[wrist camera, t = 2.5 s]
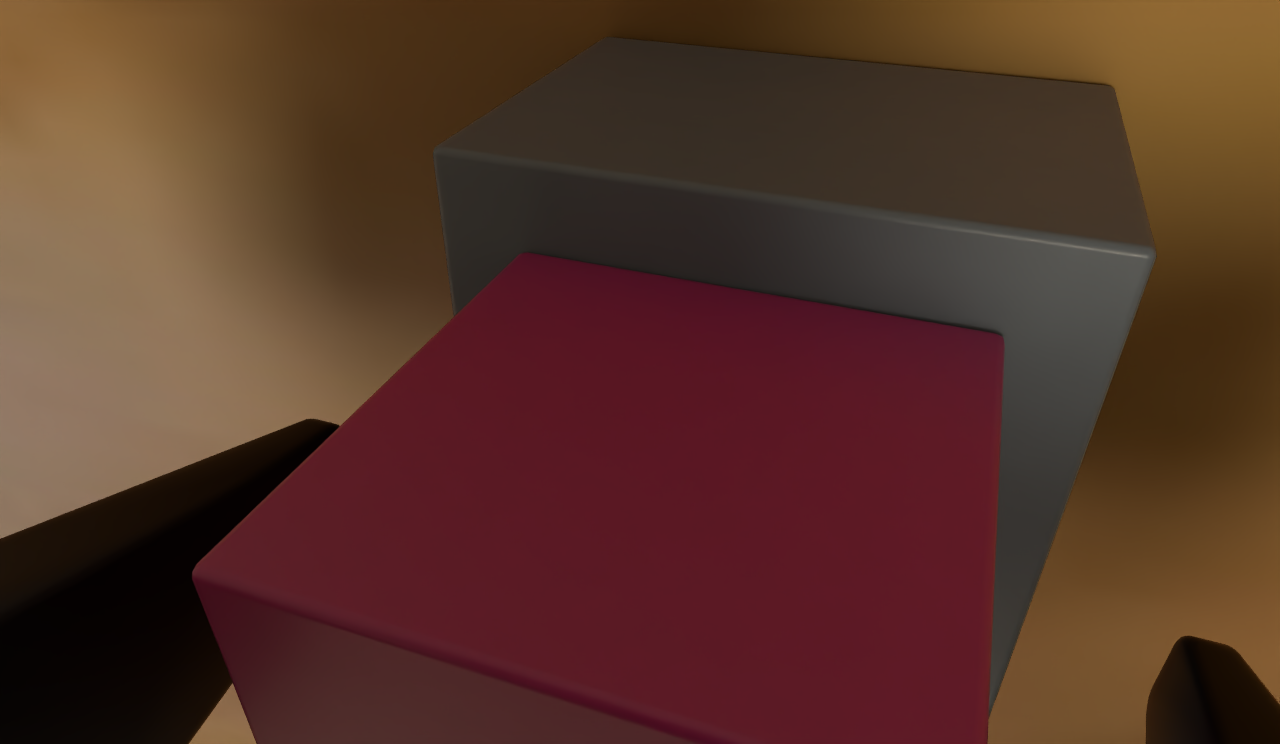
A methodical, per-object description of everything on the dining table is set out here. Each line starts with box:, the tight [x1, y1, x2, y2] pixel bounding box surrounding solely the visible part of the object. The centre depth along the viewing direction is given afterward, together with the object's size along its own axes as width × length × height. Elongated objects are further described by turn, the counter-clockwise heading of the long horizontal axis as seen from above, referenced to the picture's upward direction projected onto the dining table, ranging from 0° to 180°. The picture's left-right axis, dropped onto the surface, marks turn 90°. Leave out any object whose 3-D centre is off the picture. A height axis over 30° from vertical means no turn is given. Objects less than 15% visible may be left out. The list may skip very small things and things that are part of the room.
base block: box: [433, 37, 1157, 719], centre depth 12 cm, size 7×7×5 cm
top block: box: [192, 252, 1005, 744], centre depth 9 cm, size 5×5×5 cm
